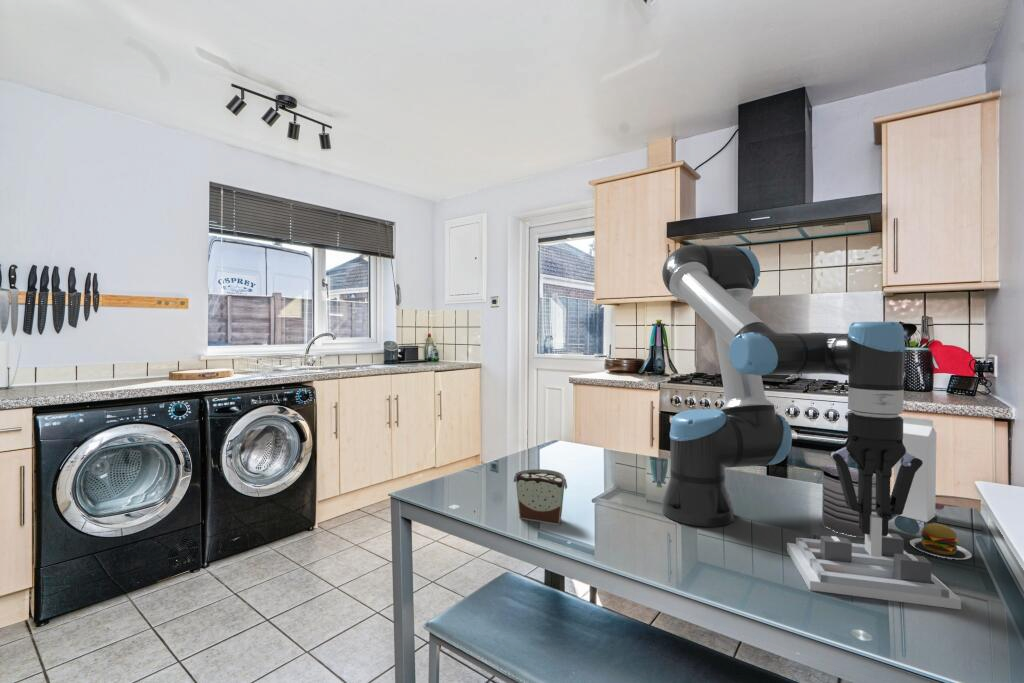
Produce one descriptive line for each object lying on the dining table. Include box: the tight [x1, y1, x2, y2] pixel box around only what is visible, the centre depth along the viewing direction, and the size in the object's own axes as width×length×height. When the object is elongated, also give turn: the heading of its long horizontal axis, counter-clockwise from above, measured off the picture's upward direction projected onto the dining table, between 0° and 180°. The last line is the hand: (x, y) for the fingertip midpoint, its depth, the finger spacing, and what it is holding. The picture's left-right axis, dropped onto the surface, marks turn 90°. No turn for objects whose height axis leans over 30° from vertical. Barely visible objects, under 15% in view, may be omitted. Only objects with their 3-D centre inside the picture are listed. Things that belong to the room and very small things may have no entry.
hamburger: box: [909, 522, 973, 561], centre depth 94 cm, size 12×12×6 cm
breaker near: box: [893, 553, 932, 584], centre depth 79 cm, size 4×2×4 cm, turn 74°
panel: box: [786, 537, 962, 610], centre depth 84 cm, size 20×15×3 cm
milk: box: [894, 416, 937, 523], centre depth 112 cm, size 6×6×22 cm
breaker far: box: [882, 532, 905, 557], centre depth 87 cm, size 4×2×4 cm, turn 74°
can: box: [820, 464, 877, 537], centre depth 105 cm, size 11×11×12 cm
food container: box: [513, 468, 568, 526], centre depth 112 cm, size 12×6×10 cm, turn 65°
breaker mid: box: [819, 535, 852, 563], centre depth 86 cm, size 4×2×4 cm, turn 74°
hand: (872, 553), depth 84 cm, fingers closed
